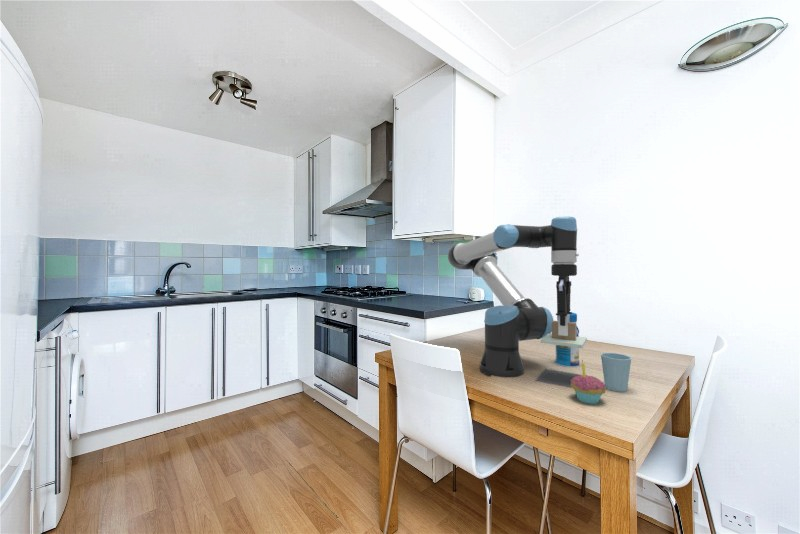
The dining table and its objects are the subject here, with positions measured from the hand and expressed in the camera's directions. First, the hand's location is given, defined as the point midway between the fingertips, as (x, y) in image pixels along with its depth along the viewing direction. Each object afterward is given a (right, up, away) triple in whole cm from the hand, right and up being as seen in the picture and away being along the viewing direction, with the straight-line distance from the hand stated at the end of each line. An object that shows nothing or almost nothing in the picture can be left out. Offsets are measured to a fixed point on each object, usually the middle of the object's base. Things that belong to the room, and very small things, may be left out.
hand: (563, 334), depth 106 cm
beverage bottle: (+10, -15, +16) cm, 24 cm away
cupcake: (-2, -15, -17) cm, 23 cm away
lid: (0, -2, 0) cm, 2 cm away
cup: (+11, -15, -9) cm, 21 cm away
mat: (0, -15, 0) cm, 15 cm away
